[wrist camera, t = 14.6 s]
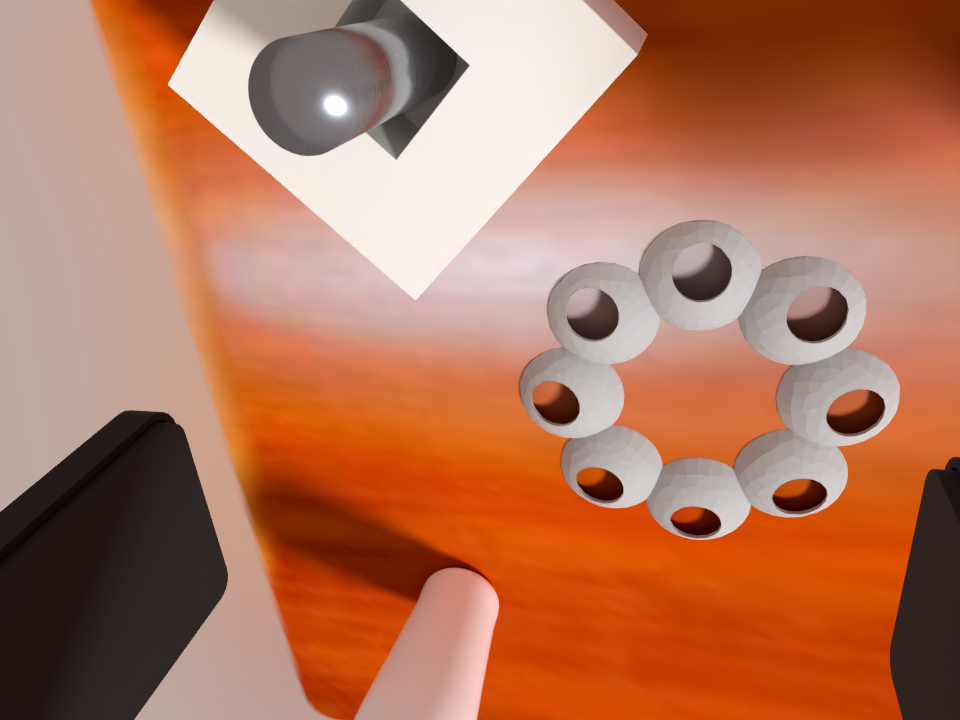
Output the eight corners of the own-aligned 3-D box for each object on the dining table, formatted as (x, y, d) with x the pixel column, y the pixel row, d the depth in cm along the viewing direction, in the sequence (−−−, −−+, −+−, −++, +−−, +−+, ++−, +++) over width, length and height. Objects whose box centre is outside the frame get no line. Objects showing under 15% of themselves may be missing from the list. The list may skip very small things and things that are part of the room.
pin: (408, -7, 34) (281, 9, 23) (472, 49, 34) (376, 90, 24) (365, 62, 36) (229, 105, 25) (426, 115, 36) (318, 179, 26)
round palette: (985, 402, 39) (998, 423, 37) (691, 584, 49) (691, 607, 47) (707, 134, 36) (708, 143, 35) (454, 383, 46) (445, 401, 44)
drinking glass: (502, 555, 51) (437, 763, 38) (519, 631, 54) (463, 849, 41) (406, 553, 53) (313, 751, 40) (427, 627, 56) (347, 833, 43)
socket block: (407, -205, 33) (341, -237, 27) (647, 34, 35) (637, 54, 29) (247, 62, 40) (167, 84, 34) (455, 248, 42) (415, 300, 36)
